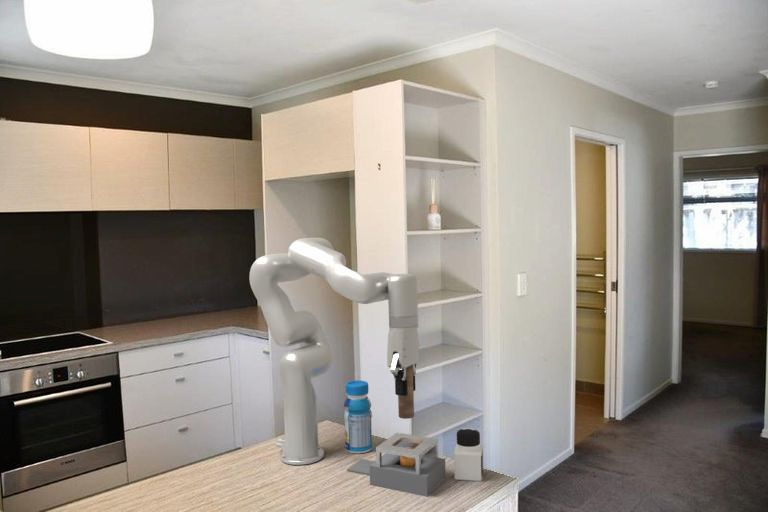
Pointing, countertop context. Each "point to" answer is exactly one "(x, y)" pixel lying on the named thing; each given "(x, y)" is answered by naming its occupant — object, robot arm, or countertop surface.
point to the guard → (400, 441)
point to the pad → (361, 467)
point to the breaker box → (408, 475)
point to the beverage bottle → (357, 418)
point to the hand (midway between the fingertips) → (405, 392)
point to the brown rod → (407, 401)
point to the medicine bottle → (468, 456)
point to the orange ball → (407, 460)
